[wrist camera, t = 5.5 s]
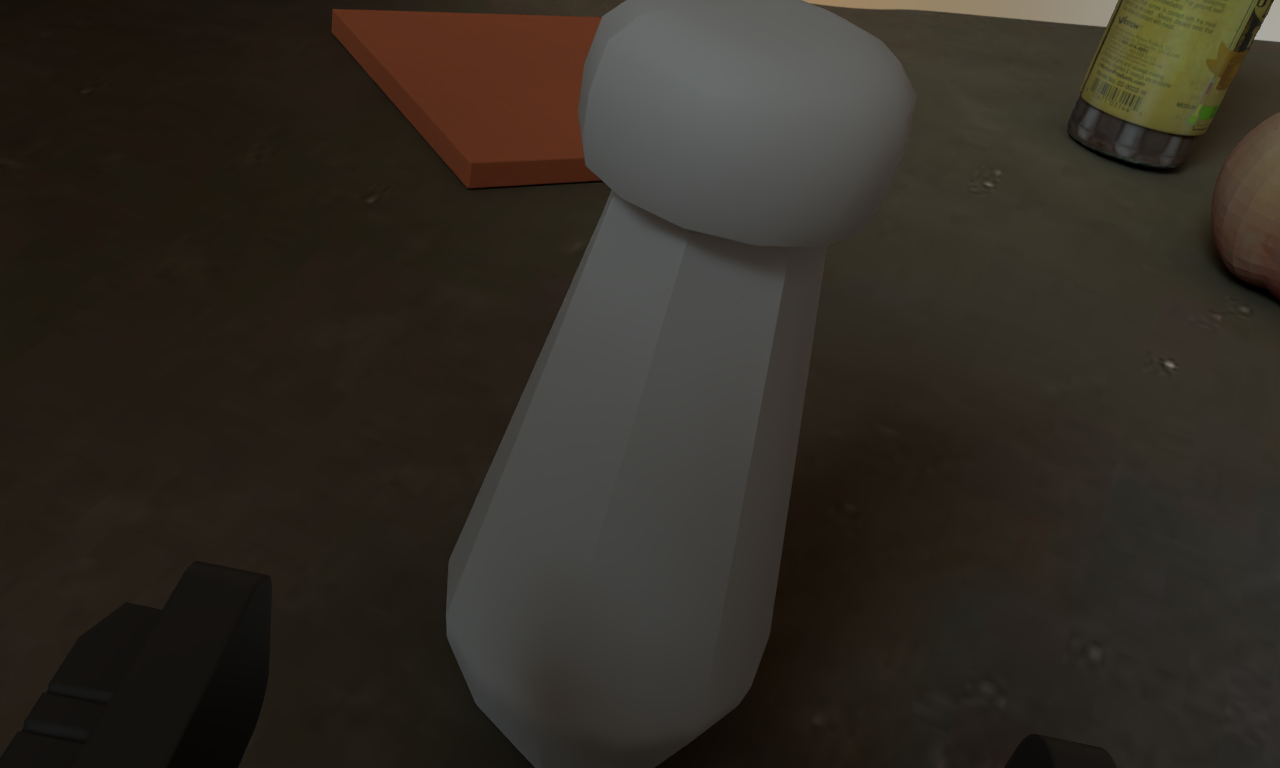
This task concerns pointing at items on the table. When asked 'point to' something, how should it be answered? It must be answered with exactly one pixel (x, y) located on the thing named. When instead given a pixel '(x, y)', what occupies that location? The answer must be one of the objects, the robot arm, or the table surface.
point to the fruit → (1251, 208)
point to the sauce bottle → (1162, 76)
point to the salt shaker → (672, 379)
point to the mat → (482, 87)
